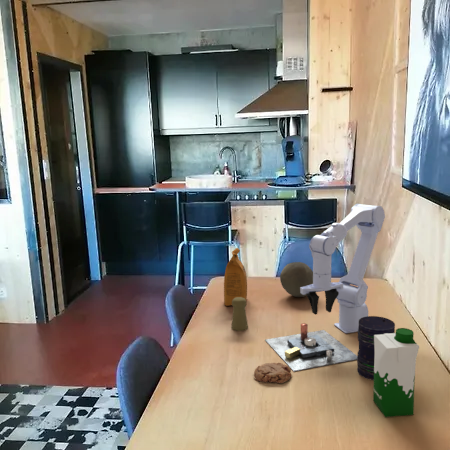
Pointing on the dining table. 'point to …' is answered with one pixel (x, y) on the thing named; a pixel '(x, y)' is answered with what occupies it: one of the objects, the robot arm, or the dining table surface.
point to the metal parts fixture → (301, 350)
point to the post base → (311, 360)
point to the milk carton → (395, 372)
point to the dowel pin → (328, 355)
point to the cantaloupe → (296, 278)
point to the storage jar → (370, 342)
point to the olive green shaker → (239, 314)
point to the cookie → (272, 373)
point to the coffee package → (234, 279)
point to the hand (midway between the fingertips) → (321, 312)
